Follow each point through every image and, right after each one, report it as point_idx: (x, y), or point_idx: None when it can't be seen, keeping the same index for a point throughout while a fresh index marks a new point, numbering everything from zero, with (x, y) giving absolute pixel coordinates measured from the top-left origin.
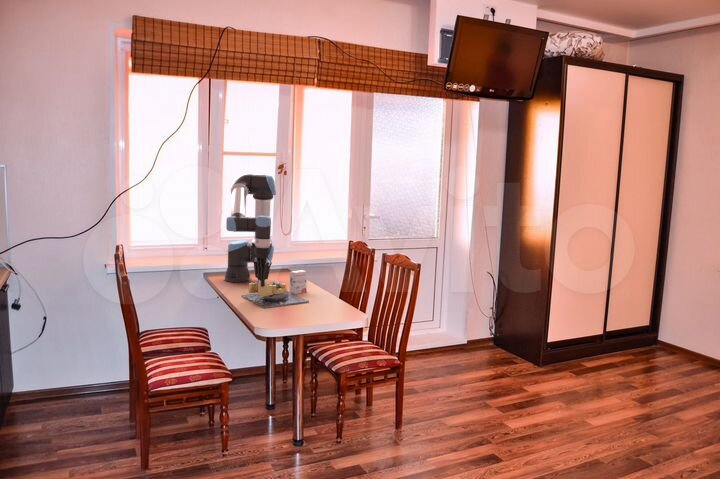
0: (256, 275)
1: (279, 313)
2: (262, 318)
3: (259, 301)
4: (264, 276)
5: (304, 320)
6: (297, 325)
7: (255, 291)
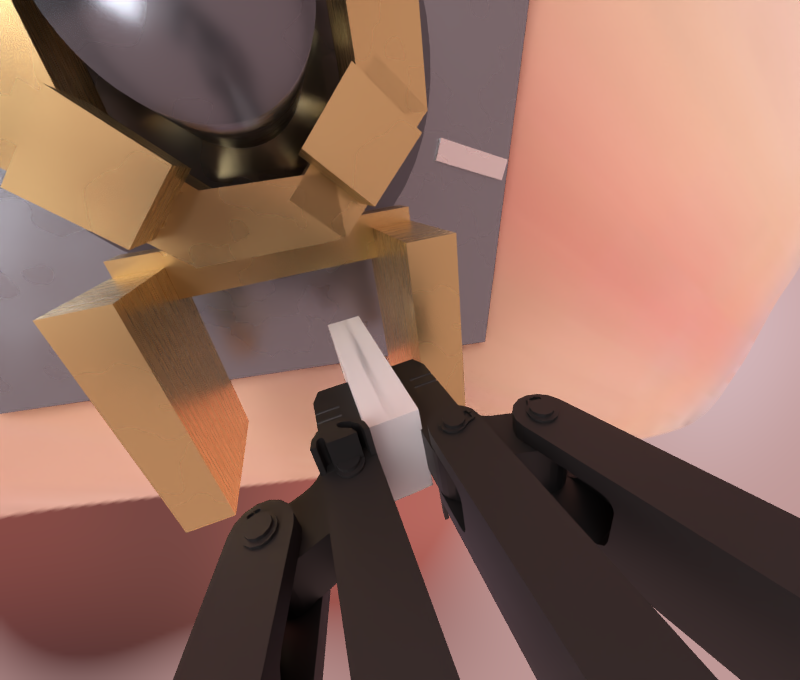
0: (324, 617)
1: (613, 288)
2: (612, 397)
3: (332, 322)
4: (611, 513)
5: (770, 218)
6: (770, 291)
7: (221, 371)
